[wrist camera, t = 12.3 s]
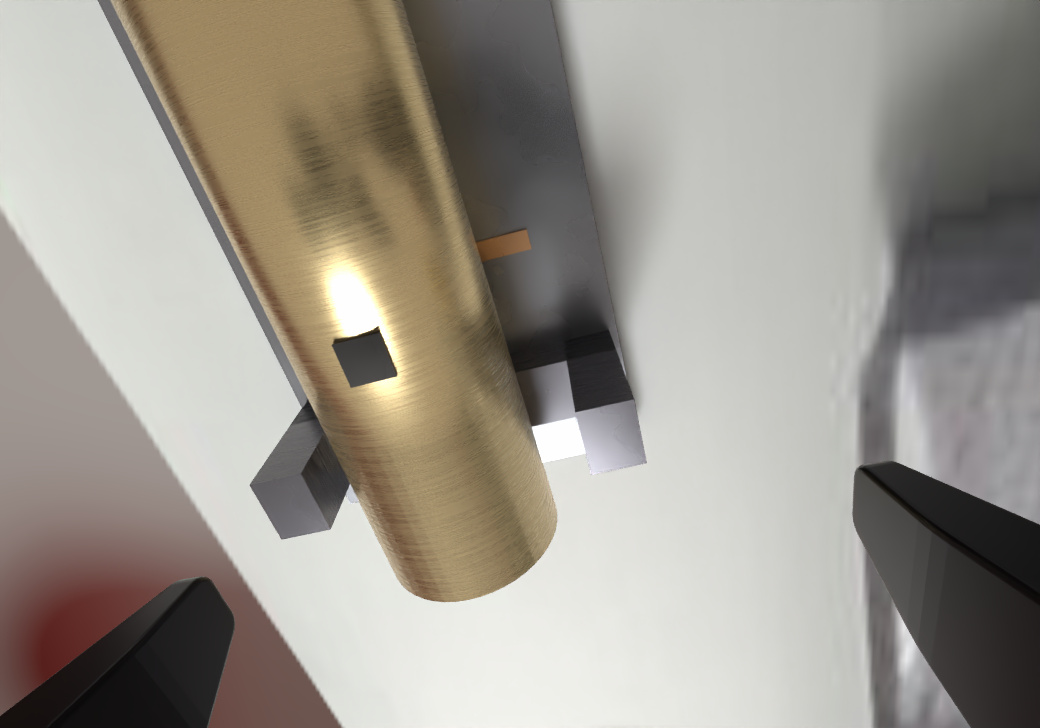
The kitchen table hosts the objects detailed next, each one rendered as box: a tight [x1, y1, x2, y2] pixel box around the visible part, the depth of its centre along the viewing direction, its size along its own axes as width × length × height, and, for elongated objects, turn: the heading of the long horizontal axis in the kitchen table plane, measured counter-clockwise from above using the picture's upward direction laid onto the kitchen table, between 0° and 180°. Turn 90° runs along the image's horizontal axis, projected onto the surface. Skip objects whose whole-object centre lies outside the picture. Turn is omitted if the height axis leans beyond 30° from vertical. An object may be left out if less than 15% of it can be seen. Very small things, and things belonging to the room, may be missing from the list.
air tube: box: [110, 0, 557, 602], centre depth 12 cm, size 22×5×5 cm, turn 15°
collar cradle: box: [98, 0, 647, 539], centre depth 14 cm, size 24×11×6 cm, turn 15°
